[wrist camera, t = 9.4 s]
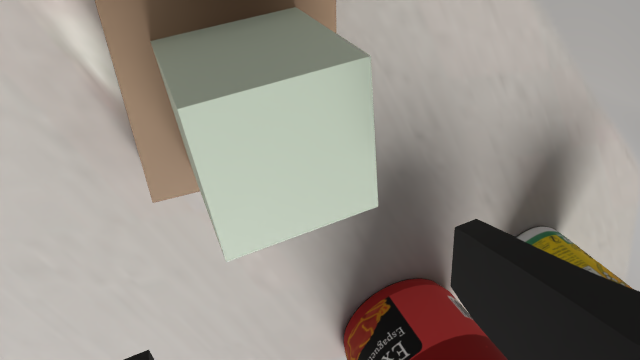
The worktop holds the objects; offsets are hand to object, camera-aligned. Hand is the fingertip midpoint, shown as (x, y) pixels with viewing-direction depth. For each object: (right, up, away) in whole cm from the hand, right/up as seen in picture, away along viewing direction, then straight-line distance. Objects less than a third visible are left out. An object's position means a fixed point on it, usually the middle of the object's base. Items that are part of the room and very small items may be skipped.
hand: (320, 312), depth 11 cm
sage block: (-3, +6, +5) cm, 8 cm away
